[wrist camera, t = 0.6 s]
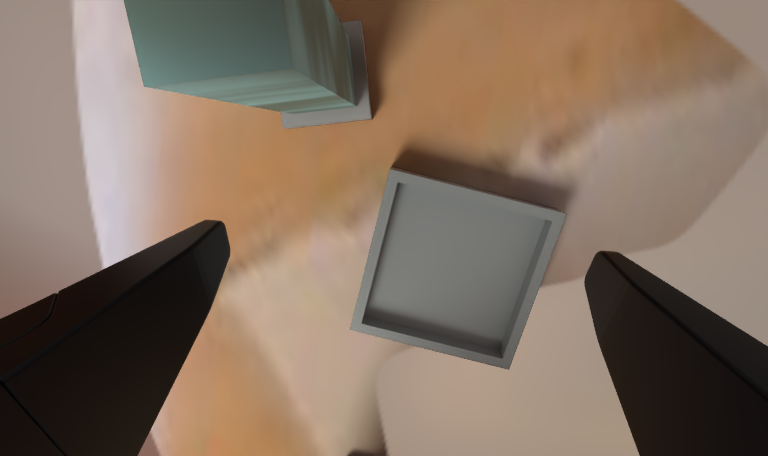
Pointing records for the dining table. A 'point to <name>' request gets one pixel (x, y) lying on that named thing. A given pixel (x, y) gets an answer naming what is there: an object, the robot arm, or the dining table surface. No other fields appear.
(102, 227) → the dining table surface
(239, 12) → the teal green tall block
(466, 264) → the tray
